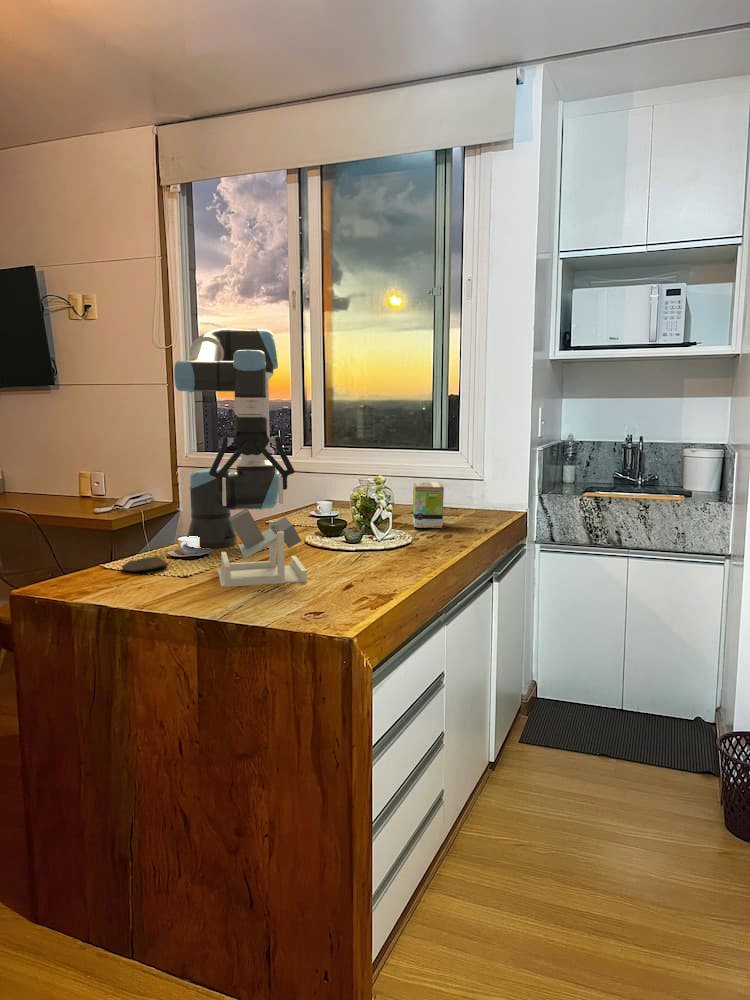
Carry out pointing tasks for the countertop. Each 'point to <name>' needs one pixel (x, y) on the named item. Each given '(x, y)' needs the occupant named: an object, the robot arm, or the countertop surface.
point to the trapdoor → (274, 537)
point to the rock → (145, 564)
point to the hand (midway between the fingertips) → (252, 504)
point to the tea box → (428, 504)
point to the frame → (263, 568)
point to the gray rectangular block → (246, 528)
